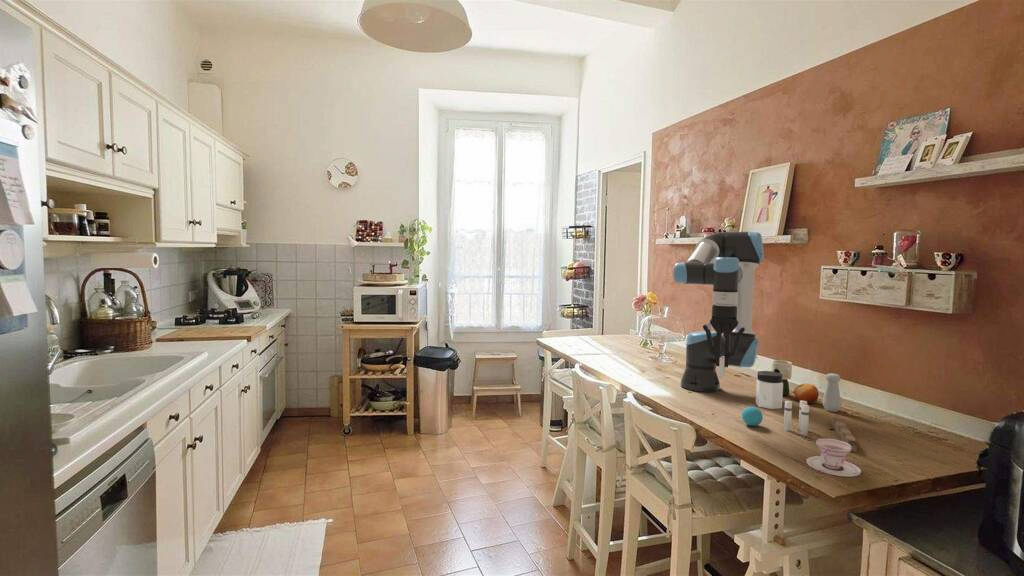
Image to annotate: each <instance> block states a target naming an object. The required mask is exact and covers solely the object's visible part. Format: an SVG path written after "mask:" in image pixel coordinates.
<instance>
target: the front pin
mask: <svg viewBox="0 0 1024 576" xmlns="http://www.w3.org/2000/svg"><path fill="white" fill-rule="evenodd" d="M783 413H784V414H783V430H784V431H786V432H791V431H792V417H793V416H792V413H793V402H792V401H791V400H784V411H783Z"/></svg>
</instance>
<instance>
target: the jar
mask: <svg viewBox="0 0 1024 576" xmlns="http://www.w3.org/2000/svg"><path fill="white" fill-rule="evenodd" d="M756 375H757V377H756V379H755V381H756V383H755V404H756V405H757V407H759V408H763V409H769V410H778V409H783V399H784V398H783V396H784V395H783V382H782V378H783V375H782V374H781V373H778V372H772V370H771V371H770V370H760V371H757V374H756Z"/></svg>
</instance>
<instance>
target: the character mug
mask: <svg viewBox="0 0 1024 576" xmlns="http://www.w3.org/2000/svg"><path fill="white" fill-rule="evenodd" d="M771 371H772V372H778V373H781V374H782V375H783V378H782V382H783V396H785V395H789V394H790V385H789V384H790V383H789V380H791V379H792V373H793V362H791V361H788V360H779V359H774V360H771Z"/></svg>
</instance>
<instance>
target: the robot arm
mask: <svg viewBox="0 0 1024 576" xmlns="http://www.w3.org/2000/svg"><path fill="white" fill-rule="evenodd" d="M764 257H765V254H764V243H763V236H762V234H761V233H760V232H758V231H727V232H725V231H720V232H715V233H712V234H709V235H706V236H704V237H703V238H701V239H700V240H699V241H698V242H697V243H696V245H695V247H694V251H693V253H692V254H691V255H690V257H689V258H688V259H687V260H686V261H685V262H684V261H681V262H676V263H675V264H674V267H673V281H674V282H675V283H677V284H683V285H706V286H707V285H709V286H710V285H711V286H712V285H713V286H712V300H711V301H712V304H713V305H712V307H711V318H710V319H709V322H708V323H706V324H705V323H704V324H703V325H702V328H703V331H702V330H700V331H699V330H698V331H692V332H690V333H688V334H687V336H686V343H685V345H686V352H685V369H684V371H683V374H682V377H681V379H680V386H682V388H683V387H684V388H683V389H685V388H687V389H686V390H688V389H690V390H689V391H693V390H694V391H693V392H699V391H700V393H713V392H718V391H720V389H721V383H720V379H719V378H725V374H726V373H725V371H726V368H728V367H729V366H731V367H736V368H737V367H738V368H752V367H753V366H754V365H755V362H756V359H757V356H758V351H759V344H760V339H759V338H758V337H756V333H755V332H754V330H752V325H753V324H752V323H753V307H754V305H753V304H754V292H755V291H754V290H755V274H756V273H755V272H756V269H758V267H760V262H763V261H764V260H765V258H764ZM712 328H713V330H711V329H712ZM717 367H718V374H717Z"/></svg>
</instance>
